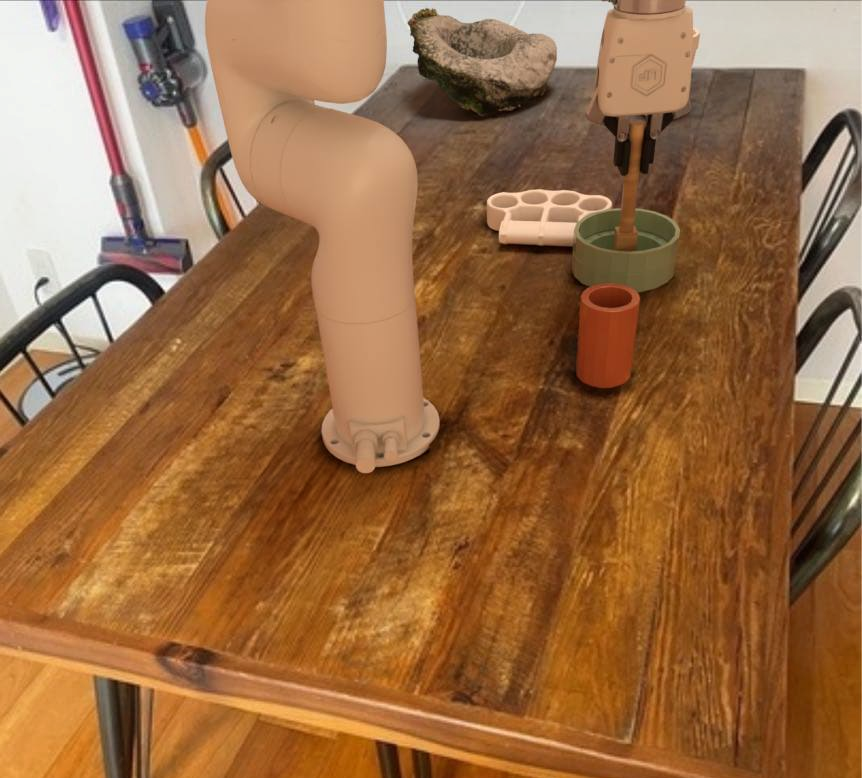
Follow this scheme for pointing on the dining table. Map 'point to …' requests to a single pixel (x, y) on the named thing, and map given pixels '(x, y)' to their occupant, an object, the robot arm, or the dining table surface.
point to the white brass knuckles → (541, 215)
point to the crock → (607, 334)
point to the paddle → (630, 192)
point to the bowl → (622, 267)
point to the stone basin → (482, 60)
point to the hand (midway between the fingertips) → (632, 169)
